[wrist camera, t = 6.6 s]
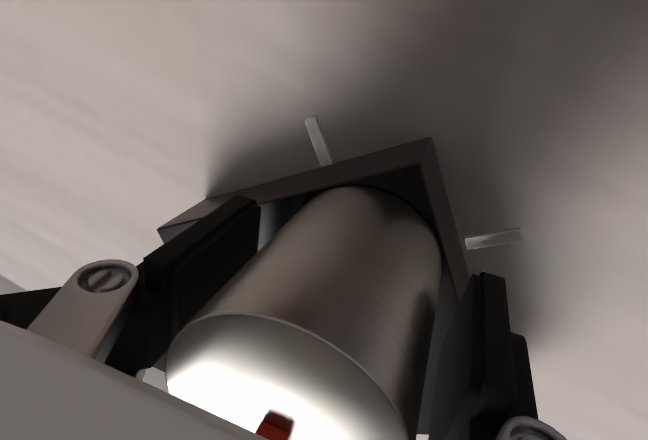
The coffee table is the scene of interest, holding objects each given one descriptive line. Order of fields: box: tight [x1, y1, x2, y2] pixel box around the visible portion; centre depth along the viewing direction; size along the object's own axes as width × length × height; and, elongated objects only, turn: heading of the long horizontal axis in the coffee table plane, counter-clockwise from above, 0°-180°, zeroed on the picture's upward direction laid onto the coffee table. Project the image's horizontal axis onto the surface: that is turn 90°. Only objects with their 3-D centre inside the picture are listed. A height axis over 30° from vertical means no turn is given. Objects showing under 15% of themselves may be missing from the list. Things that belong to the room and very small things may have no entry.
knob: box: [165, 186, 442, 440], centre depth 9 cm, size 5×5×6 cm
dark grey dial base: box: [157, 115, 523, 435], centre depth 15 cm, size 12×12×3 cm
